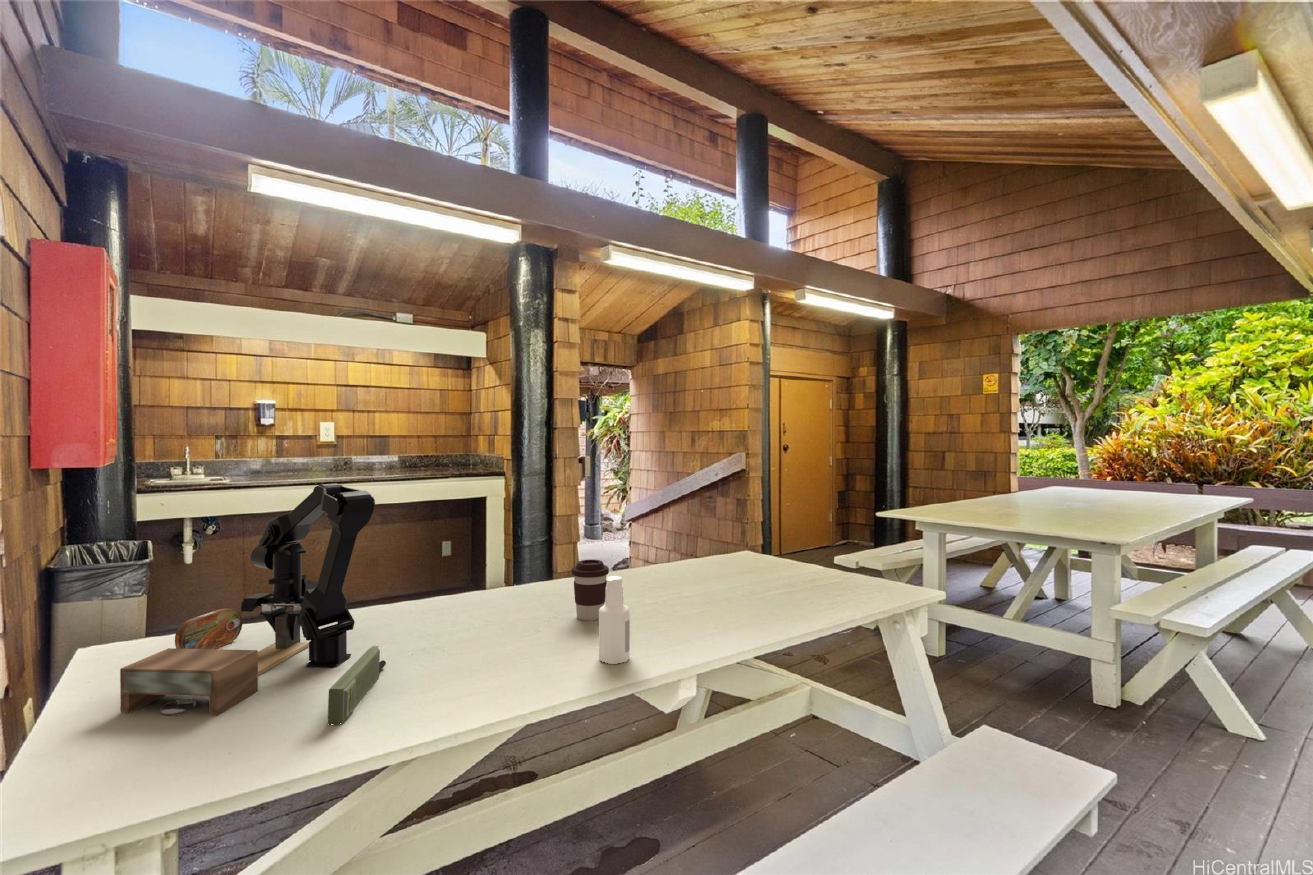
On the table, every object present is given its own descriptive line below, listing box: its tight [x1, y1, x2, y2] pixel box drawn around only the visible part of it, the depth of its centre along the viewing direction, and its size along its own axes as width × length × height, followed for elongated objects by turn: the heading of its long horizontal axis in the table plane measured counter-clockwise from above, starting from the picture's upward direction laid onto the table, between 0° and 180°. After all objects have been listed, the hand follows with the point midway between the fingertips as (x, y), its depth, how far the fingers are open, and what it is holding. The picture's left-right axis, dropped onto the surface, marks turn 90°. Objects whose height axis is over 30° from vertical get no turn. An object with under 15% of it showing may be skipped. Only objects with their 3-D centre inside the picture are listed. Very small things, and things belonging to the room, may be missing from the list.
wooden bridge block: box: [119, 647, 259, 717], centre depth 112 cm, size 18×10×8 cm, turn 87°
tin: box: [174, 607, 243, 649], centre depth 139 cm, size 15×3×8 cm, turn 168°
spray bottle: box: [598, 575, 631, 665], centre depth 133 cm, size 7×7×18 cm
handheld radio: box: [327, 645, 387, 726], centre depth 115 cm, size 7×3×25 cm
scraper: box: [258, 610, 309, 677], centre depth 130 cm, size 8×22×8 cm, turn 177°
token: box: [160, 697, 197, 717], centre depth 109 cm, size 5×5×1 cm
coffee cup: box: [571, 559, 610, 622], centre depth 162 cm, size 10×10×15 cm
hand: (287, 639), depth 139 cm, fingers closed on scraper, 2 cm apart
